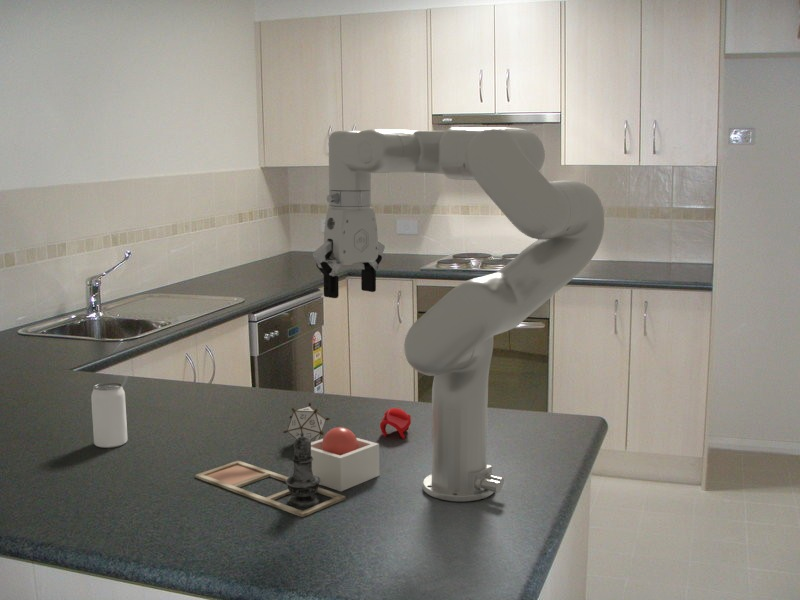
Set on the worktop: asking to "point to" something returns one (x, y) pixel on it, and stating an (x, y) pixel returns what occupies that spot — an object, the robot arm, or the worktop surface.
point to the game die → (306, 423)
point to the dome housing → (345, 465)
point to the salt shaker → (303, 475)
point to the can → (109, 415)
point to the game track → (245, 474)
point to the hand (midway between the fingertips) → (350, 294)
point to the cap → (396, 421)
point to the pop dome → (339, 441)
